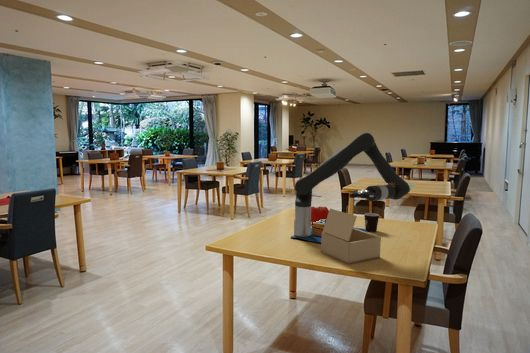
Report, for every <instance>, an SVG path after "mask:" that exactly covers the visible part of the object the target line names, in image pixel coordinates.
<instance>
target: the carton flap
mask: <svg viewBox="0 0 530 353" xmlns="http://www.w3.org/2000/svg"><path fill="white" fill-rule="evenodd" d="M328 210H329V213H328V216H327V219H326V223H325V224H324V226H323V229H322V232H325V233H328V234H331V235H333V236H336V237H339V238H341V239H344V240H347V241H349V240H350V236H351V233H352V230H353V228H354V227H355V223H356V221H357V220H356V219H357V218H358V217H357V215H353V214H351V213H347V212H344V211H340V210H337V209H333V208H329V209H328Z"/></svg>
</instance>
